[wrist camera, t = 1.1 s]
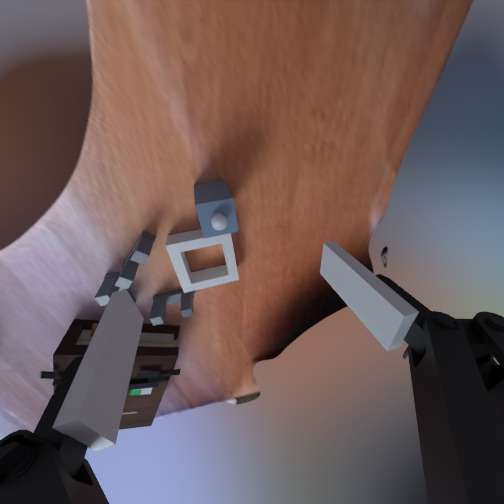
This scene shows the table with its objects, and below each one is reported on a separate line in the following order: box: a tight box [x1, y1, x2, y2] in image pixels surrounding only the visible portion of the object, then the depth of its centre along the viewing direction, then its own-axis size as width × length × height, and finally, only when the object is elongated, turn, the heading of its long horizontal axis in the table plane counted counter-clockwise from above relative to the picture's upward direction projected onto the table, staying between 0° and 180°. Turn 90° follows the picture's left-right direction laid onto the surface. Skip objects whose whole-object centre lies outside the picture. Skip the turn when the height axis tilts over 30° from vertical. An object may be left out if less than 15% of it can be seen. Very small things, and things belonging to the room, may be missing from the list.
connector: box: [194, 180, 238, 239], centre depth 25 cm, size 4×4×9 cm
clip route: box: [95, 231, 194, 326], centre depth 30 cm, size 11×14×5 cm
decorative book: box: [39, 319, 180, 429], centre depth 40 cm, size 19×8×30 cm
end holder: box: [165, 229, 239, 293], centre depth 32 cm, size 9×9×3 cm
